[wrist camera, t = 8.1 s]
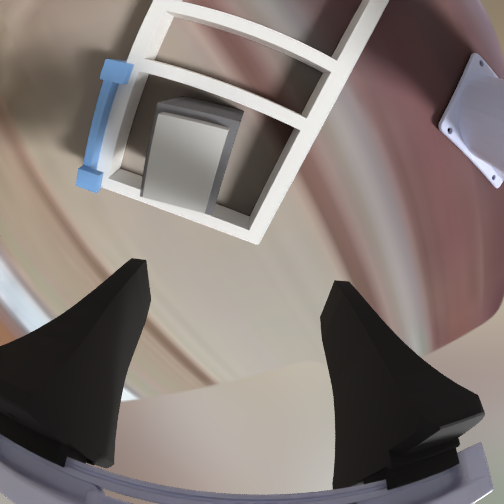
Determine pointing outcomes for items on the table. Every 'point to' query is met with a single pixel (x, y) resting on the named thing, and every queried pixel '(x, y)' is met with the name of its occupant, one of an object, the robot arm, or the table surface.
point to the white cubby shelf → (143, 63)
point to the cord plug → (189, 152)
